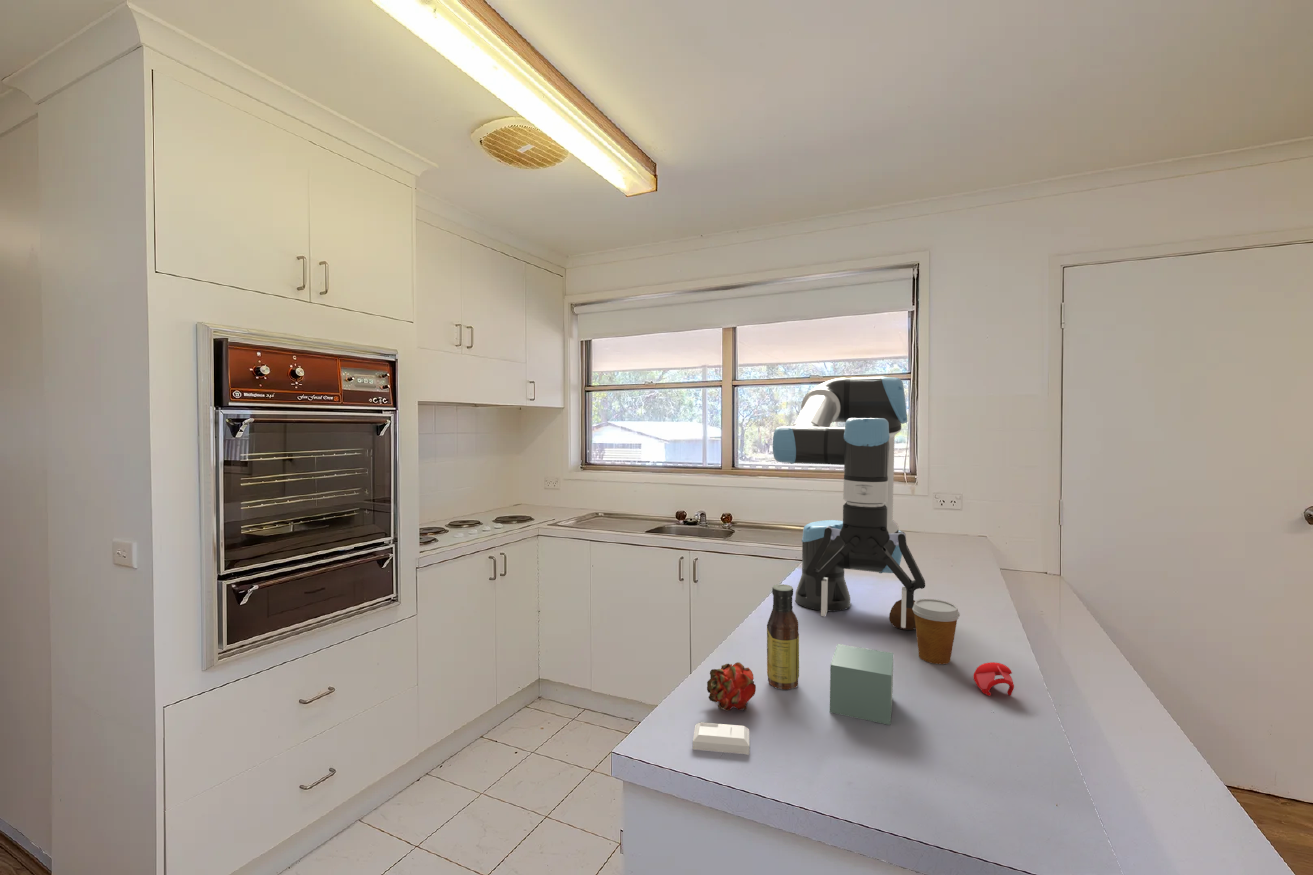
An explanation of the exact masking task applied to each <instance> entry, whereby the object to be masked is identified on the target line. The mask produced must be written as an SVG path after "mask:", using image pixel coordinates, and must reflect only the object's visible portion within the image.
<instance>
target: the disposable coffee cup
mask: <svg viewBox="0 0 1313 875" xmlns="http://www.w3.org/2000/svg"><path fill="white" fill-rule="evenodd" d="M912 610H913V612H914V615H915V625H916V629H915V631H916V632H915V634H916V642H917V649H918V650H917V651H918V658H919V659H921V660H923V661H924V662H926V663H930V664H933V665H948V664H949V663H951V659H952V653H953V652H952V651H953V646H954V640H955V636H956V631H957V630H956V629H957V624H958V623H957V622H958V619H959V618H960V616H961V613H960V611H959V608H958V606H956V604H955V603H951V602H948V601H946V600H941V599H936V598H919V599H916V600H915V602H914V605H913V608H912Z"/></svg>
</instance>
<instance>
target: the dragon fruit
mask: <svg viewBox="0 0 1313 875" xmlns="http://www.w3.org/2000/svg"><path fill="white" fill-rule="evenodd" d="M709 675H710V678H709V679H708V680H707V682H706V685H707V686H706V690H707V693H709V695H708V699H709V701H710V702H713V703H718V705H717V707H718V709H721V710H724V711H725V712H728V711H731V710H732V708H735V709H737V710H742V711H746V710H747V704H748V702H749V701H750V700H751V699H752V698H753V697H754V696H755V694H756V691H757V687H756V684H755V680H754V679H755V678H754V674H753V670H751V669H750V667H745V666H744V665H743V664H742V663H741V662H739V661H738V662H735V663H734V664H732V663H725V664H723V665H721V668H717V669H715V668H714V669H711V670H710V671H709Z"/></svg>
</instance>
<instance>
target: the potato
mask: <svg viewBox="0 0 1313 875" xmlns="http://www.w3.org/2000/svg"><path fill="white" fill-rule="evenodd" d="M915 601H916V600H915V599H914V602H915ZM914 602H913V605H914ZM901 604H902V598H901V599H899V600H897V601H895V602H894V604H893V605H892V607H891V609H890V611H889V614H888V615H889V617H888V619H889V622H890V624H891V625H892V626H893V627H894V628H895V629H900V630H905V631H913V630H916V625H915V615H914V612H913V610H912V609H911V608H906V628H902V627H901Z"/></svg>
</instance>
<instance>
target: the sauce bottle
mask: <svg viewBox="0 0 1313 875" xmlns="http://www.w3.org/2000/svg"><path fill="white" fill-rule="evenodd" d="M771 588H772V589H771V590H772V596H773V597H772V601H773V602H772V603H773V604H772V609H771V612H770V616H769V618H768V621H767V624H766V670H767V671H766V674H767V681H768V684H769V685H770V686H772V687H773V688H775V689H778V690H783V691H789V690H794V689H795V688H797V687H798V686H799V679H800V678H799V677H800V633H799V621H798V617H797V616H796V614H795V612H794V611H793V609H794V608H793V607H794V606H793V596H794V587H792V585H788V584H774V585H773V586H772V587H771Z"/></svg>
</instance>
